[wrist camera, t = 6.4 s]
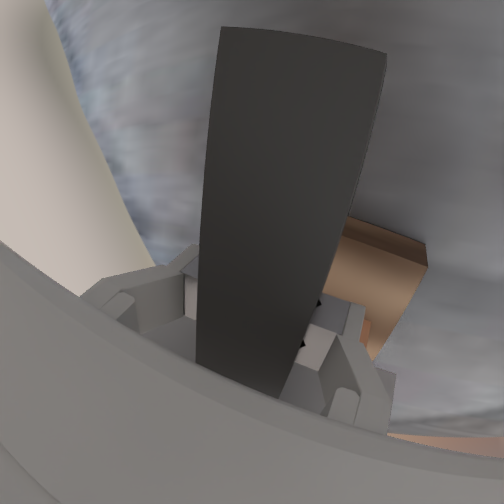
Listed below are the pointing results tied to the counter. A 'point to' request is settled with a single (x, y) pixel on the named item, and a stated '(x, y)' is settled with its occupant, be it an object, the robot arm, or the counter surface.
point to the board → (376, 275)
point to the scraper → (276, 203)
